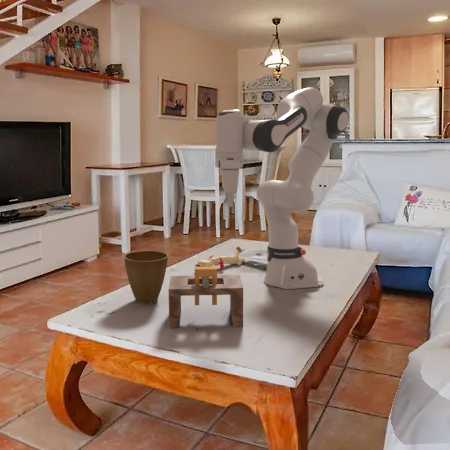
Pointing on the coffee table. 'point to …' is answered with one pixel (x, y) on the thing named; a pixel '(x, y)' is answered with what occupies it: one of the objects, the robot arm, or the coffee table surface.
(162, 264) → the plant pot
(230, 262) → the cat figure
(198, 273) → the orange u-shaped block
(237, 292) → the wooden table with hole
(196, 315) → the coffee table surface
